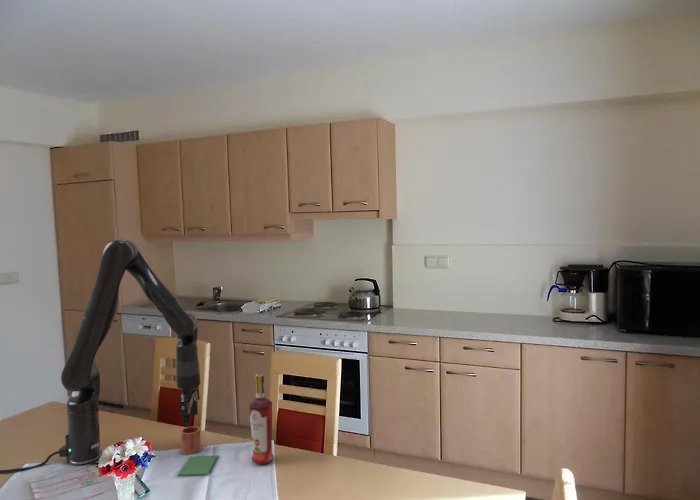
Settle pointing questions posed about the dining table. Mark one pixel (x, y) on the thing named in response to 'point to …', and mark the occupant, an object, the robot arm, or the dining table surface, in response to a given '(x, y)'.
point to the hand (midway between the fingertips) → (190, 419)
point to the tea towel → (198, 465)
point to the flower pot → (190, 440)
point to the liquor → (261, 424)
